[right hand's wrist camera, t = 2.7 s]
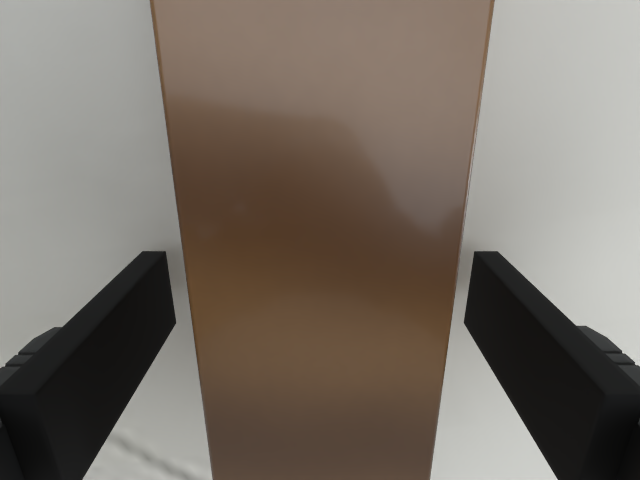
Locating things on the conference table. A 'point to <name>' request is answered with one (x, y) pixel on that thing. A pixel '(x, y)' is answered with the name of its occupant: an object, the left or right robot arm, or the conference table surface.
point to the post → (321, 221)
